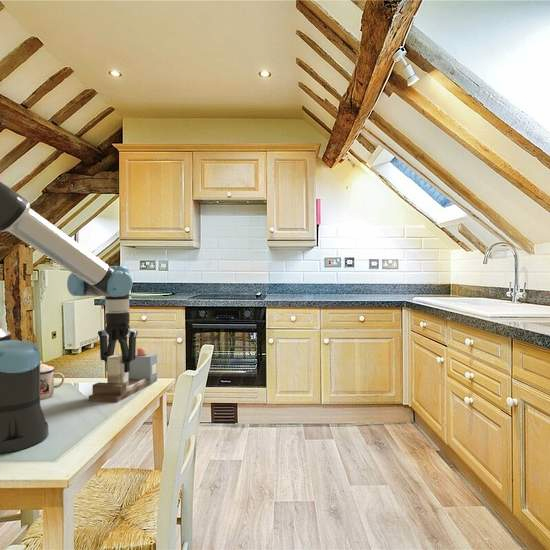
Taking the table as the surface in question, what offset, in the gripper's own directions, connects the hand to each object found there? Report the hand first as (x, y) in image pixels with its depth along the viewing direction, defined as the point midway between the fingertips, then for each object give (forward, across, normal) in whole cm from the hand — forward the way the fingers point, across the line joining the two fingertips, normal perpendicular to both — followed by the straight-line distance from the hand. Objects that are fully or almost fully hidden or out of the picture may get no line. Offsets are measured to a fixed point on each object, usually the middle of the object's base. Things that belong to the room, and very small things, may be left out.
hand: (118, 381), depth 135 cm
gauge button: (-4, 0, -15) cm, 16 cm away
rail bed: (+4, 0, -4) cm, 6 cm away
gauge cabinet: (+4, 0, -15) cm, 16 cm away
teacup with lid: (+4, +23, +6) cm, 24 cm away
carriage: (+2, 0, 0) cm, 2 cm away
